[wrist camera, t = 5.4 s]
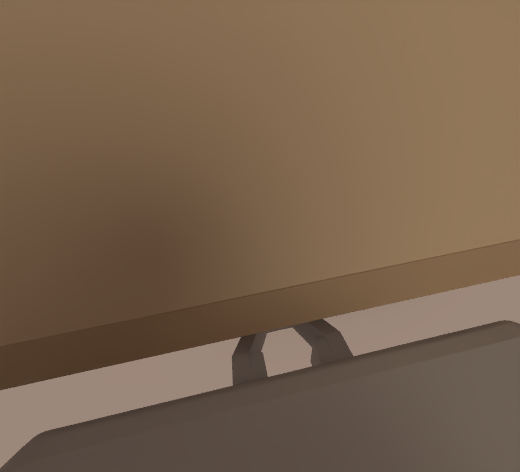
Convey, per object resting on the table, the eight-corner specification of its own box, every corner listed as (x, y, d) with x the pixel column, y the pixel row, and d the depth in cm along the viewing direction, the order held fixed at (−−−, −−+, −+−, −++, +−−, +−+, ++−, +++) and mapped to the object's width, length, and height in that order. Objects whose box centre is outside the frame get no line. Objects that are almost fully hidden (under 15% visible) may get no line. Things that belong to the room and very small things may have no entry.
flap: (10, 376, 7) (-13, 393, 6) (-302, -298, 4) (-398, -387, 4) (511, 267, 9) (532, 272, 8) (545, -277, 6) (583, -338, 5)
